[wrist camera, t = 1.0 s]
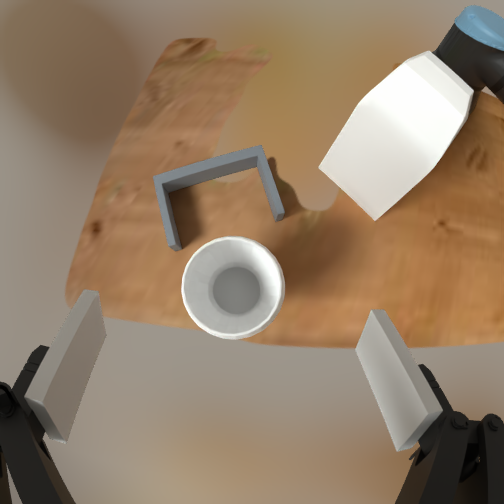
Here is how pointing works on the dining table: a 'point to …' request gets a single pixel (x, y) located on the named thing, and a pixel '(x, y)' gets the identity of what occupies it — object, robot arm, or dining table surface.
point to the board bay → (208, 172)
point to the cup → (233, 287)
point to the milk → (398, 133)
